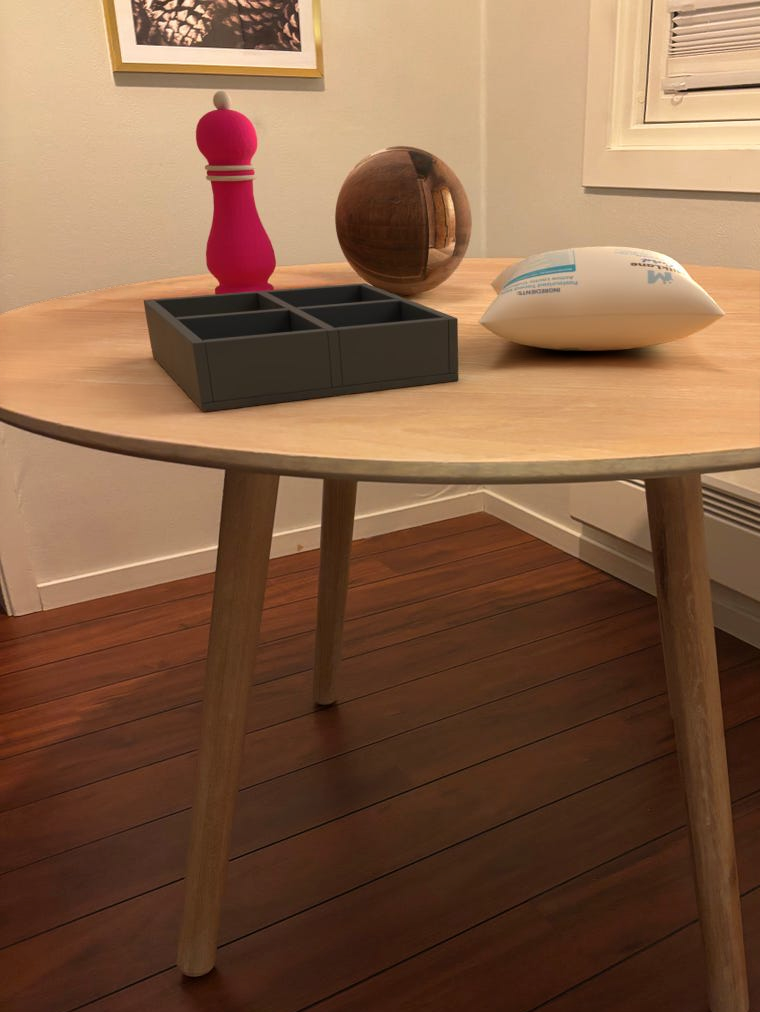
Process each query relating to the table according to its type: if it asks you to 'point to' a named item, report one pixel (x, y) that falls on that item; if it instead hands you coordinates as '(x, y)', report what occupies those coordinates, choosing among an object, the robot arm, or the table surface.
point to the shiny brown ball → (403, 220)
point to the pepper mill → (234, 202)
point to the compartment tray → (299, 344)
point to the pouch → (597, 300)
